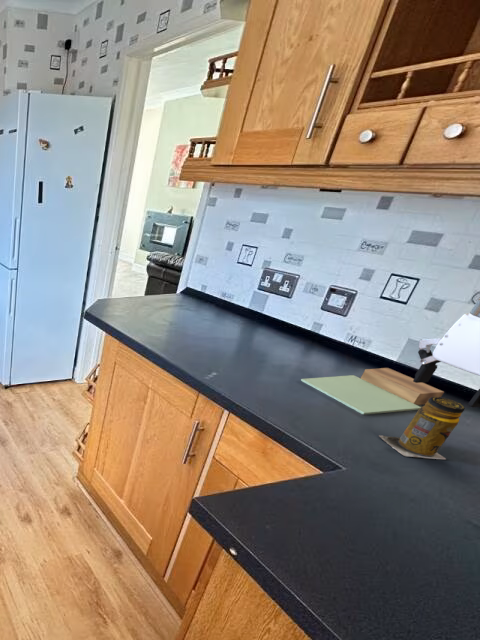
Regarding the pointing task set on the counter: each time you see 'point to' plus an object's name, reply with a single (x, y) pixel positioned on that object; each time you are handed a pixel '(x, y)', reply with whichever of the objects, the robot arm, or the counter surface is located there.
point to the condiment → (428, 429)
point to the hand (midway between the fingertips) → (446, 393)
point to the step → (401, 385)
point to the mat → (360, 394)
